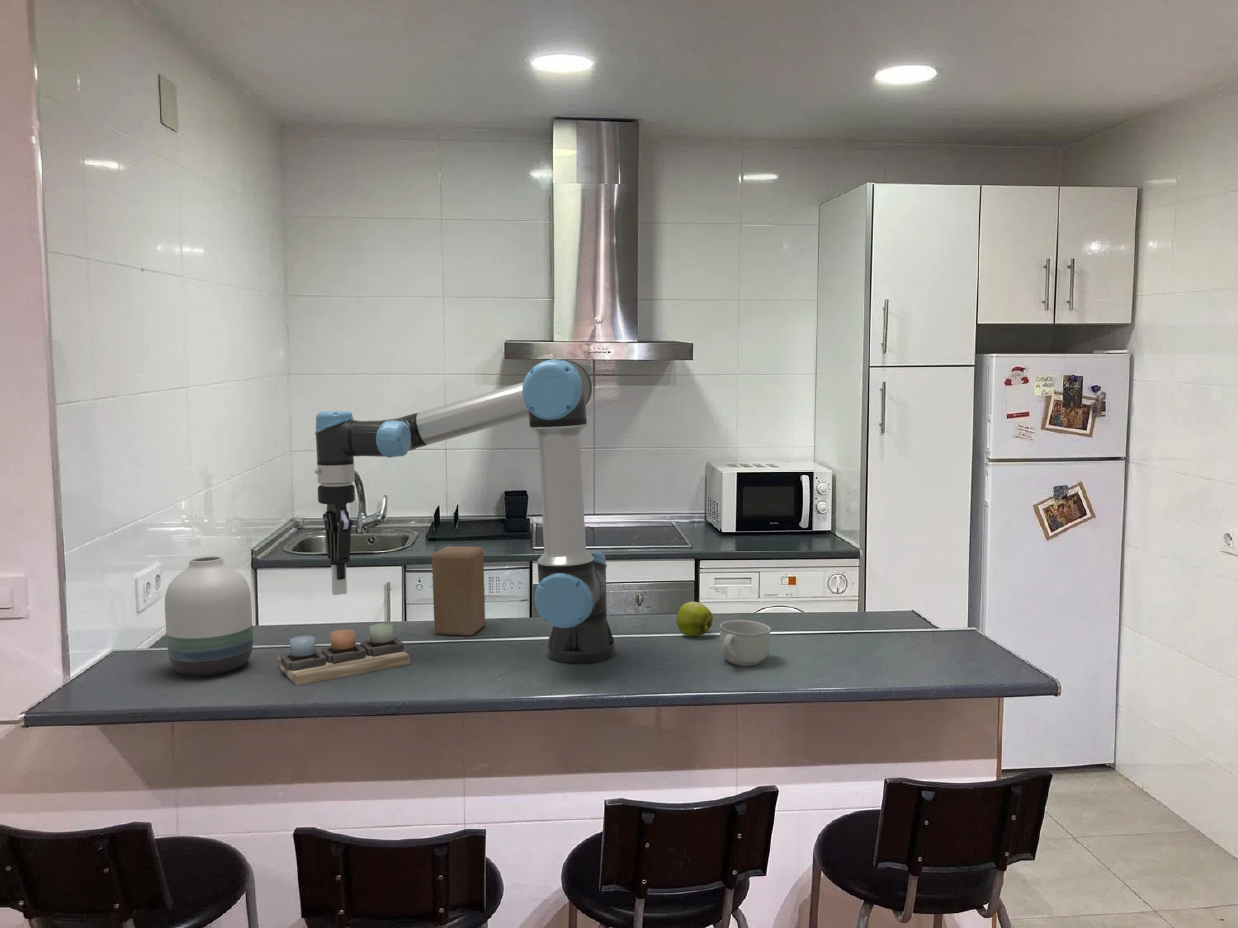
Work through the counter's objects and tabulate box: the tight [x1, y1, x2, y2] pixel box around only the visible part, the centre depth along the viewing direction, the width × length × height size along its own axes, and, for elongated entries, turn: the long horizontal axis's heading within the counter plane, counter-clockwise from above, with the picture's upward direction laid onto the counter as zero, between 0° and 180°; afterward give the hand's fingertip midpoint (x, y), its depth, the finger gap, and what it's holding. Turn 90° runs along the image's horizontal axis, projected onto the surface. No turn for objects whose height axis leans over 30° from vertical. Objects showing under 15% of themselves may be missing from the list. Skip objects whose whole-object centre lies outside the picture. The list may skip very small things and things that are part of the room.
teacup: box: [719, 619, 772, 667], centre depth 203 cm, size 14×11×8 cm
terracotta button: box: [330, 628, 356, 650], centre depth 206 cm, size 5×5×3 cm
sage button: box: [369, 622, 394, 643], centre depth 210 cm, size 5×5×3 cm
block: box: [431, 545, 486, 637], centre depth 232 cm, size 10×10×20 cm
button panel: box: [277, 637, 411, 686], centre depth 206 cm, size 15×25×4 cm, turn 123°
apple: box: [676, 601, 714, 637], centre depth 225 cm, size 8×9×8 cm
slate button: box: [289, 635, 317, 656], centre depth 201 cm, size 5×5×3 cm
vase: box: [164, 555, 254, 676], centre depth 204 cm, size 17×17×24 cm
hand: (339, 593), depth 205 cm, fingers closed
